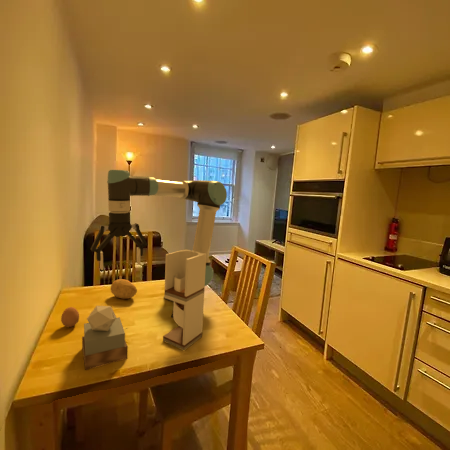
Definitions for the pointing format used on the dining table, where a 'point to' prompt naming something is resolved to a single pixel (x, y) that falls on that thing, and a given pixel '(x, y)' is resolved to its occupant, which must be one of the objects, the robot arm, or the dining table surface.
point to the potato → (123, 289)
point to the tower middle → (104, 338)
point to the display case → (185, 295)
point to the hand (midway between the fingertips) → (120, 266)
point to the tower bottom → (104, 356)
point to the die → (101, 318)
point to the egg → (70, 317)
